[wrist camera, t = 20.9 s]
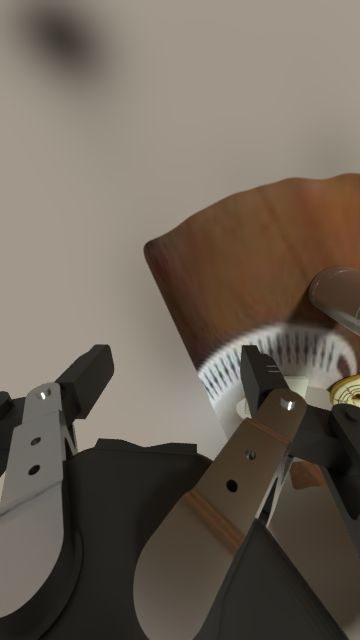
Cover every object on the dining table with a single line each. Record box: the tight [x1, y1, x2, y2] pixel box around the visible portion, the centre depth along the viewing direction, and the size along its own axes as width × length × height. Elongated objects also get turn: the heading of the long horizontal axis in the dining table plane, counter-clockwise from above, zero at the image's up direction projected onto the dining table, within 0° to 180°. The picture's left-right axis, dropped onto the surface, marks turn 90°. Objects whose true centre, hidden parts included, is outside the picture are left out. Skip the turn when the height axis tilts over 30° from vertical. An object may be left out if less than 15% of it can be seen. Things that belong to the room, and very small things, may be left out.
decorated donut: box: [330, 375, 360, 407], centre depth 49 cm, size 10×11×4 cm
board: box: [245, 376, 309, 414], centre depth 53 cm, size 14×12×1 cm
